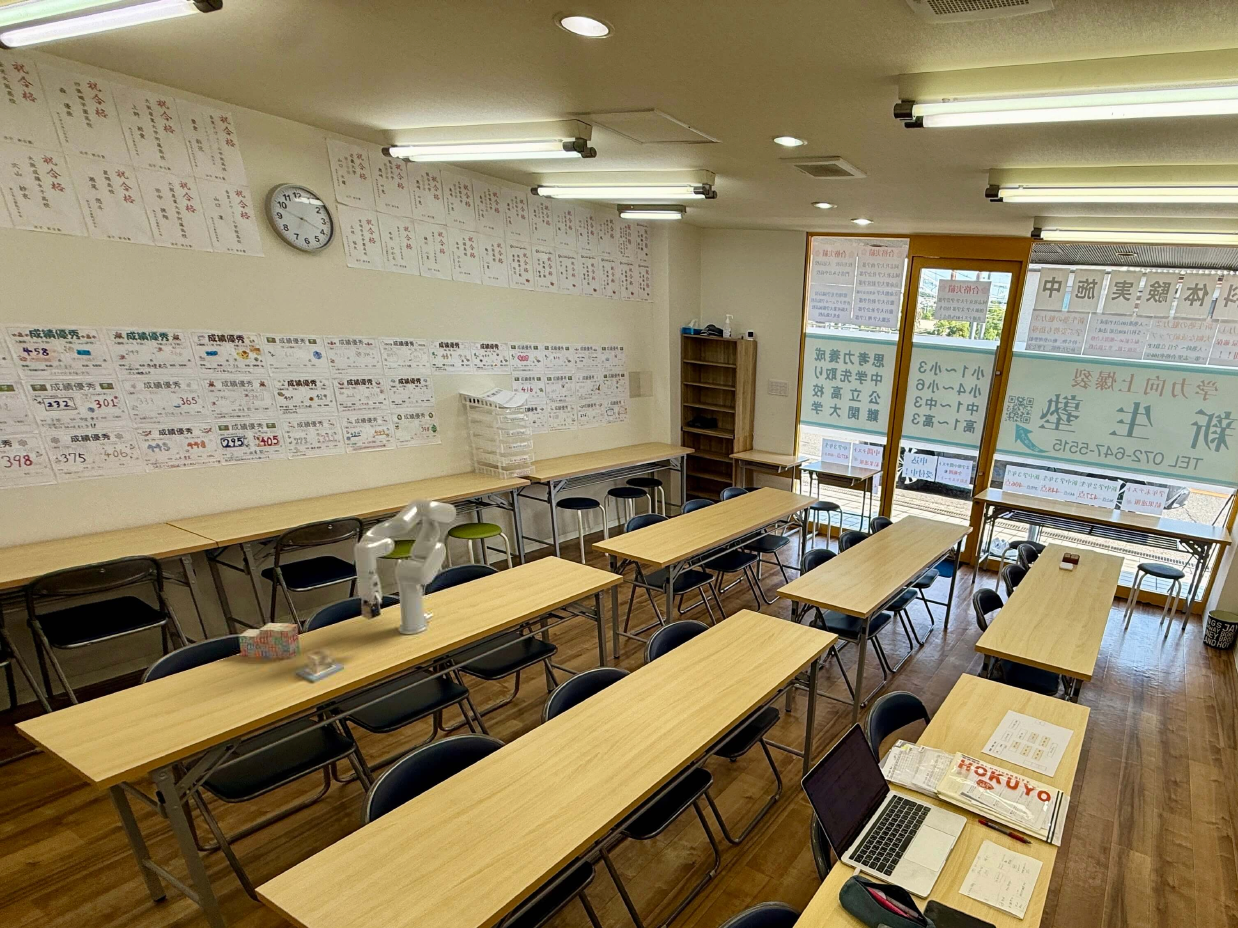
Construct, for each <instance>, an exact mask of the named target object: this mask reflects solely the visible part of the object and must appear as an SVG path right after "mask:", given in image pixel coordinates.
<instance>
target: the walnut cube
mask: <svg viewBox="0 0 1238 928" xmlns="http://www.w3.org/2000/svg"><path fill="white" fill-rule="evenodd" d="M373 603H374V604H375V603H376V601H375V602H373ZM360 606H361V616H362V618H365V619H367V620H372V619H373V618H372V614H371V609H372V606H371V603H370V601H369V602H368V603H365V604H363V605H362V604H361V605H360ZM379 613H380V615H379V616H381V606H379Z"/></svg>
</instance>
